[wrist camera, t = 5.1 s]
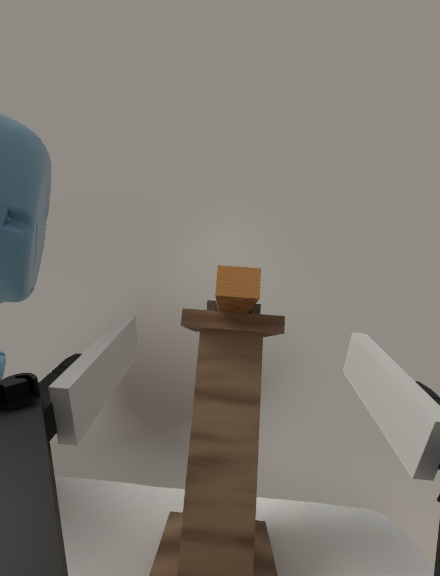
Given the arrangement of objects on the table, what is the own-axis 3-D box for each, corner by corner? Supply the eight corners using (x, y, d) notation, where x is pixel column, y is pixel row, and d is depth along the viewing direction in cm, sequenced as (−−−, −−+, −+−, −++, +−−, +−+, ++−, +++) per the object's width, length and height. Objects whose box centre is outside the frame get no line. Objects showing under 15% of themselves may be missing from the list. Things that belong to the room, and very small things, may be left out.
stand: (288, 644, 23) (293, 306, 30) (137, 626, 24) (175, 297, 30) (264, 533, 37) (271, 318, 44) (169, 523, 38) (190, 312, 44)
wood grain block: (259, 298, 20) (260, 268, 21) (215, 295, 20) (217, 265, 21) (240, 323, 44) (241, 308, 44) (220, 321, 44) (221, 307, 44)
